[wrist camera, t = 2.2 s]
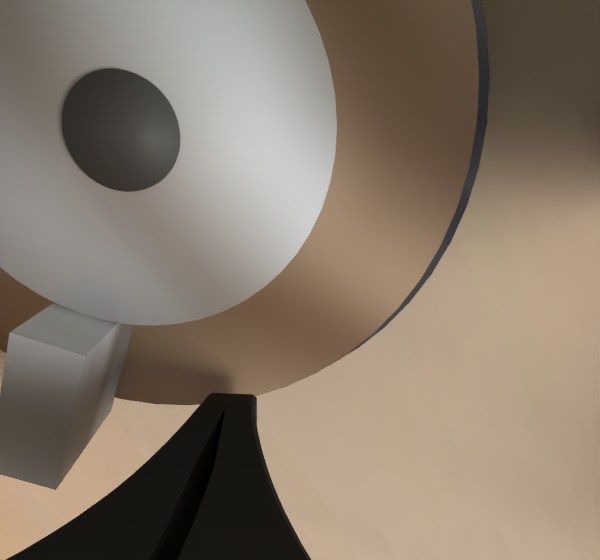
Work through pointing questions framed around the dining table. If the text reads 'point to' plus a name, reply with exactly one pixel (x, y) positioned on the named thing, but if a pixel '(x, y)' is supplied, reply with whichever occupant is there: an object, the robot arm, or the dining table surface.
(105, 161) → the turntable
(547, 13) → the dining table surface
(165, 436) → the dining table surface
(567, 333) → the dining table surface
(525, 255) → the dining table surface
